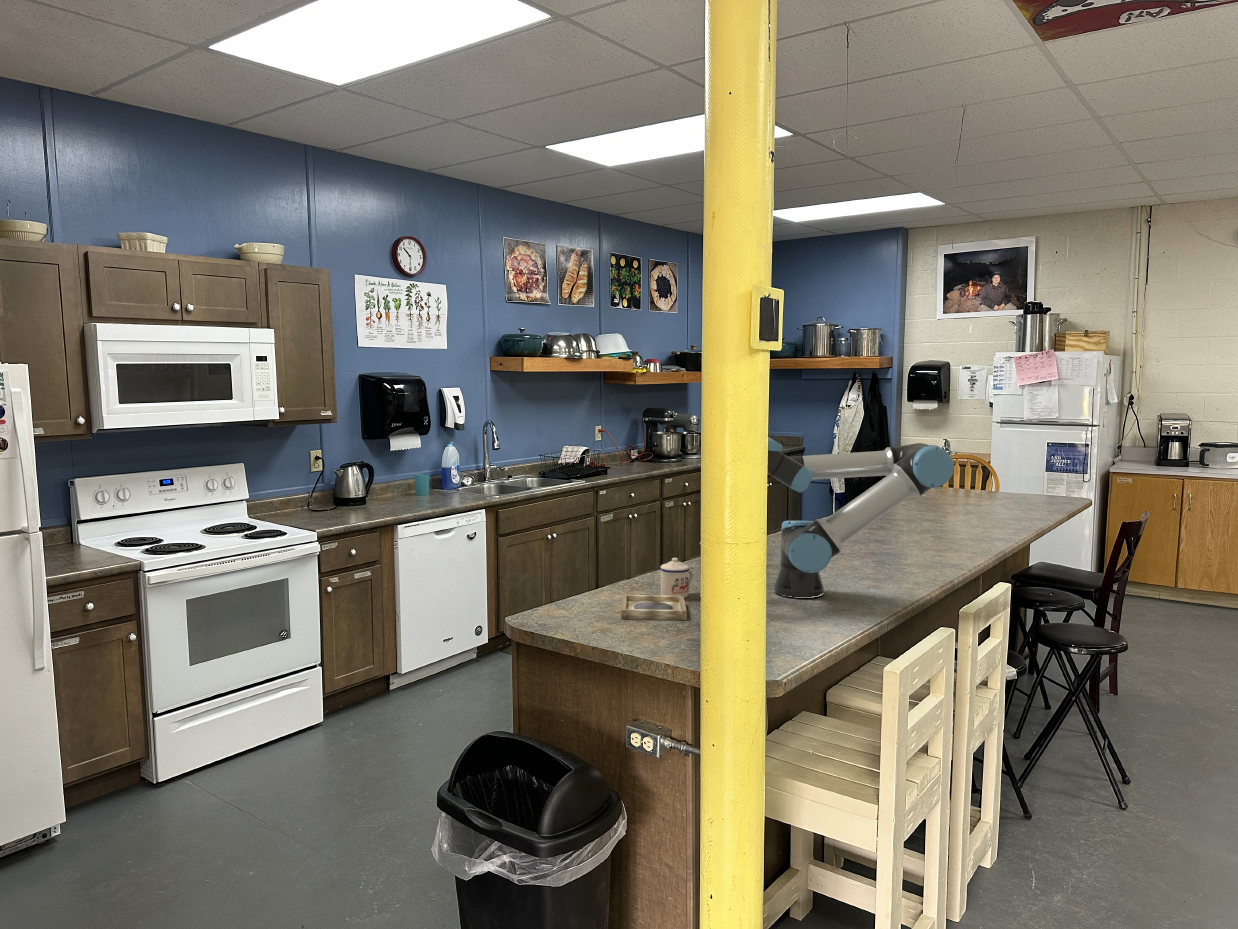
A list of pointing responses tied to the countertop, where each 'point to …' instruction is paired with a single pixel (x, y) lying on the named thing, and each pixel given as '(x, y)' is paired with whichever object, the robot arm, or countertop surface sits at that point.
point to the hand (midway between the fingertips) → (707, 545)
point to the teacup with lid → (675, 578)
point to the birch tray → (653, 607)
